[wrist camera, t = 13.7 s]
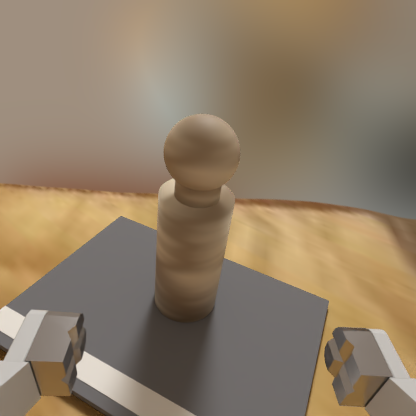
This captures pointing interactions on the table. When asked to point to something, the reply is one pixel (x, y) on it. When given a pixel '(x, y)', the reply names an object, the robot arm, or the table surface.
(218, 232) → the skittle
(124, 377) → the mat
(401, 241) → the table surface
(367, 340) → the robot arm
